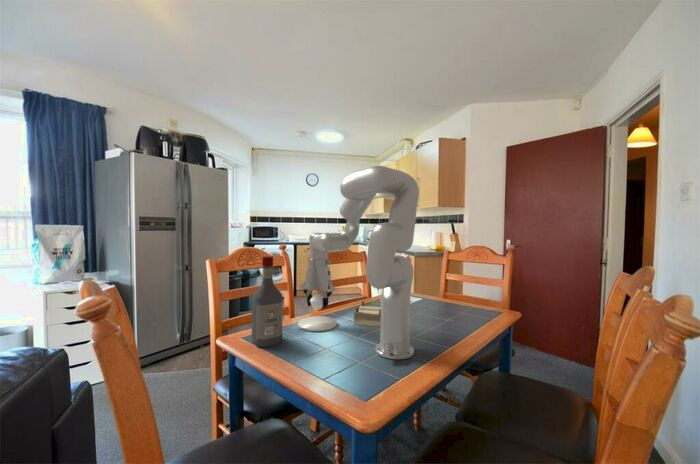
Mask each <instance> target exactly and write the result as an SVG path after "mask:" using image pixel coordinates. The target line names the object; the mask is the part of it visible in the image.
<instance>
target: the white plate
mask: <svg viewBox="0 0 700 464" xmlns="http://www.w3.org/2000/svg"><path fill="white" fill-rule="evenodd" d="M337 326H338V321H337V320H336V319H335V318H332V317H330V316H322V315H321V316H318V315H317V316H307V317H304V318H301V319H300V320H298V321H297V327H298V328H299V329H301V330H302V331H308V332H325V331H329V330H332V329H334V328H336V327H337Z"/></svg>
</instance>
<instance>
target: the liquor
mask: <svg viewBox="0 0 700 464" xmlns="http://www.w3.org/2000/svg"><path fill="white" fill-rule="evenodd" d="M261 263H262V264H261V265H262V281H261V284H260V286H258V287H257V289H256V290H255V291H254V292H253V294H252V296H251V341H252V343H253V344H254V345H255V346H256V347H257V348H268V347H272V346H276V345H277V346H278V345H279V344H280V343H281V342H282V340H283V307H284V306H283V301H284V299H283V298H284V297H283V294H282V292H281V291H280V290H279V289H278V288H277V286H276V285H274V281H273V280H274V279H273V274H274V273H273V270H274V269H273V267H274V256H267V255H265V256H262V260H261Z"/></svg>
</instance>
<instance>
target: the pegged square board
mask: <svg viewBox="0 0 700 464" xmlns="http://www.w3.org/2000/svg"><path fill="white" fill-rule="evenodd" d="M380 324H381V306H376V305H375V306H373V305H365V301H363V300H362V301H361V305H360V306H355V311H354V312H353V325H357V326H366V327H367V326H368V327H377V328H380Z"/></svg>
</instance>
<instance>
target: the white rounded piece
mask: <svg viewBox="0 0 700 464" xmlns="http://www.w3.org/2000/svg"><path fill="white" fill-rule="evenodd" d="M322 294H323V293H321V291H315V292H314V293H313V294H312V298H311V299H310V302H311V307H312V309H313V310H315V311H316V310H317V311H318V310H322V308H323V298H324V295H322Z"/></svg>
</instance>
